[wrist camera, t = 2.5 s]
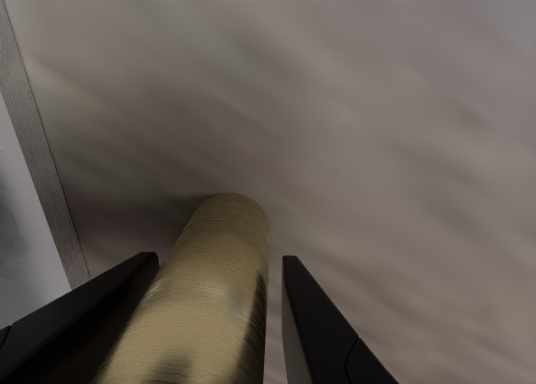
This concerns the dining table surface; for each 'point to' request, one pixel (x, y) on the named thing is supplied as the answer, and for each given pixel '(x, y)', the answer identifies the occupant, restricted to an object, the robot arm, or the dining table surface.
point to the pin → (201, 304)
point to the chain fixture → (30, 201)
